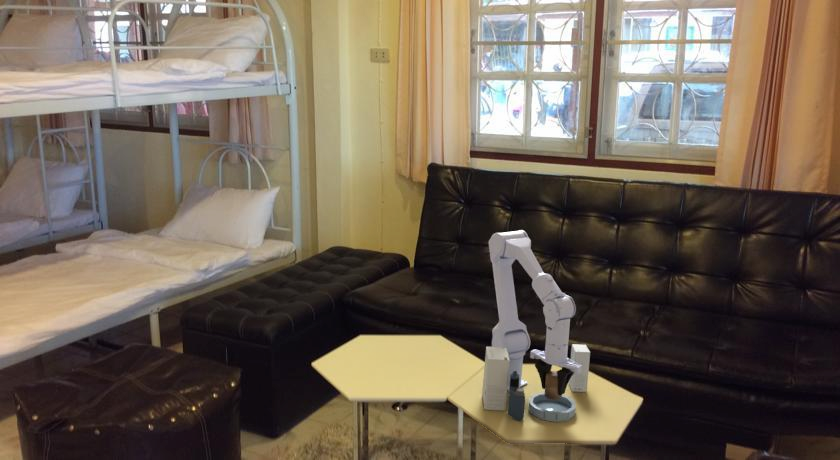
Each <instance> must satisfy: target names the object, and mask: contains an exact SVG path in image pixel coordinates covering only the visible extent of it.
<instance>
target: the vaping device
mask: <svg viewBox="0 0 840 460" xmlns="http://www.w3.org/2000/svg"><path fill="white" fill-rule="evenodd" d="M507 405H508V406H507V415H508V416H509V417H510V418H511V419H513V420H514V421H516V422H521V421H523V420H524V417H525V409H526V408H525V407H526V406H525V405H526V395H525V389H524V388H523V387H520V388H519V374H517V371H513V374H511V375H510V388H509V390H508V401H507Z"/></svg>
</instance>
